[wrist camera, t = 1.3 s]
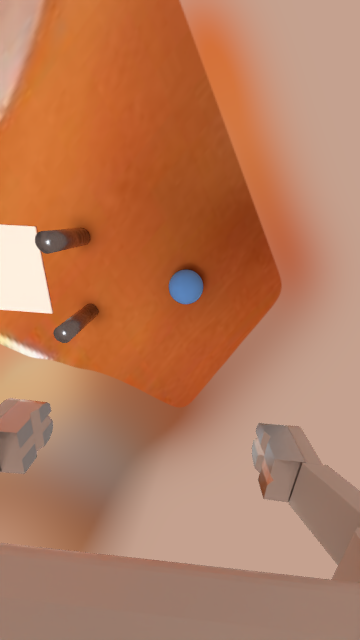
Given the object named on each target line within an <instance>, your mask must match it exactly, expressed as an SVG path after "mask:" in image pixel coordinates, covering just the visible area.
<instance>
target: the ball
mask: <svg viewBox="0 0 360 640" xmlns="http://www.w3.org/2000/svg"><path fill="white" fill-rule="evenodd" d="M169 292H170V294H171V296H172V298H173V299H174V300H175V301H177V302H179V303H181V304H191V303H193V302H195V301H197V300H198V299H199V297H200V296H201V294H202V292H203V282H202V279H201V277H200V276H199V275H198V274H197V273H196V272H194V271H192V270H180V271H178V272H176V273H175V274H174V275H173V276H172V278H171V279H170V282H169Z"/></svg>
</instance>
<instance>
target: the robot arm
mask: <svg viewBox="0 0 360 640" xmlns="http://www.w3.org/2000/svg"><path fill="white" fill-rule="evenodd" d="M50 412H51V407H50V404H49V403H47V402H39V401H31V400H20V399H13V398H9V399H6V400H5V401H4V402H2V403H1V404H0V472H6V473H21V474H25V473H26V471H27V470H28V469H29V467H30V466H31V464H32V463H33V462H34V460H35V459H36V457H37V451H38V450H39V449H41V448H42V447H44V446H45V445H46V443H47V442H48V440H49V439H50V436H51V433H52V429H53V421H52V419H50V417H49V416H48V414H49V413H50ZM256 434H257V436H258V437H257V438H256V439H255V440H254V441H253V446H252V457H253V462H254V466H255V469H256V470H257V471H258V472H259V473H260V474H259V478H258V481H259V484H260V488H261V492H262V495H263V498H264V499H268V500H276V501H282V502H289V505H290V506H291V507H292V509H293V510H294V511H295V512H296V514H297V515H298V516H299V517H300V519H301V520H302V521H303V522H304V524H305V525H306V526H307V527H308V528H309V530H310V531H311V532H312V534H313V535H314V536H315V537H316V538H317V540H318V541H319V542H320V544H321V545H322V546H323V547H324V549H325V550H326V551H327V552H328V553H329V555H330V556H331V557H332V559H333V560H334V561H335V562H336V563H337V565H338V567H337V569H336V571H335V573H334V575H333V577H332V579H331V580H329V579H319V578H311V577H302V576H293V575H284V574H275V573H265V572H257V571H248V570H240V569H231V568H221V567H213V566H203V565H195V564H186V563H177V562H167V561H159V560H149V559H141V558H132V557H123V556H114V555H105V554H95V553H86V552H78V551H69V550H60V549H50V548H42V547H32V546H23V545H14V544H5V543H0V640H360V491H359V490H358V489H357V488H356V487H354V486H353V485H352V484H350V483H349V482H348V481H347V480H345V479H344V478H343V477H341V476H340V475H339V474H338V473H336V472H335V471H334V470H333V469H331V468H330V467H329V466H328V465H323V464H322V462H321V461H320V459H319V458H318V456H317V454H316V452H315V451H314V449H313V447H312V445H311V444H310V442H309V440H308V439H307V437H306V435H305V434H304V432H303V430H302V429H301V428H300V427H299V426H287V425H286V426H284V425H273V424H262V423H259V424H258V425H257V428H256Z"/></svg>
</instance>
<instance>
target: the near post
mask: <svg viewBox="0 0 360 640" xmlns="http://www.w3.org/2000/svg"><path fill="white" fill-rule="evenodd" d="M89 241H90V234H89V232H88V231H87V230H86V229H84V228H74V229H63V230H52V231H41V232H39V233H37V234H36V236H35V243H36V246H37V247H38V249H39V250H40V251H42V252H43V253H53V252H57V251H61V250H65V249H70V248H74V247H78V246H82V245H86V244H88V243H89Z"/></svg>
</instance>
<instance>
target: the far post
mask: <svg viewBox="0 0 360 640" xmlns="http://www.w3.org/2000/svg"><path fill="white" fill-rule="evenodd" d="M97 314H98V309H97V307H96V306H95V305H93V304H87V305H86V306H84V307H83V308H82V309H81V310H79V311H78V312H77V313H75V314H74V315H73V316H71V317H70V318H69V319H67V320H66V321H65V322H63V323H62V324H61V325H60V326H58V327H57V328H56V329H55V330H54V336H55V338H56V339H57V340H58V341H60V342H62V343H67V342H69V341H70V340H71V339H72V338H73V337H74V336H75V335H76V334H77V333H78V332H80V331H81V330H82V329H83V328H84V327H85V326H86V325H87V324H88V323H89V322H90V321H91V320H92V319H93V318H95V317H96V316H97Z"/></svg>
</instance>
